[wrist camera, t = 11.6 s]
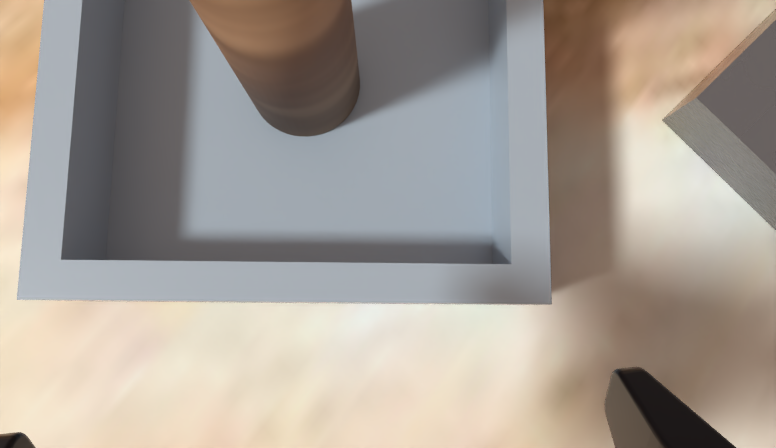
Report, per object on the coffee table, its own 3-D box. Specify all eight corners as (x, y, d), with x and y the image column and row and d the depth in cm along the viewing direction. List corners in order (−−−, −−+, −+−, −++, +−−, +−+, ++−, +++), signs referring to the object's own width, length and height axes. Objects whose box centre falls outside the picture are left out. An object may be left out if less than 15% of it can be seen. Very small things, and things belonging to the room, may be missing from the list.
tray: (520, 304, 22) (551, 304, 18) (82, 300, 22) (16, 299, 18) (512, -95, 24) (538, -174, 20) (113, -104, 24) (61, -184, 20)
